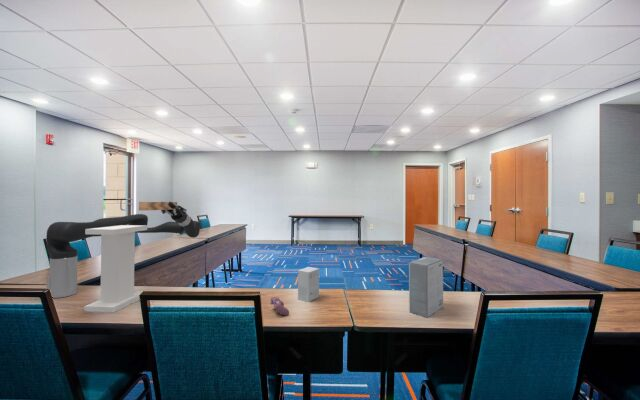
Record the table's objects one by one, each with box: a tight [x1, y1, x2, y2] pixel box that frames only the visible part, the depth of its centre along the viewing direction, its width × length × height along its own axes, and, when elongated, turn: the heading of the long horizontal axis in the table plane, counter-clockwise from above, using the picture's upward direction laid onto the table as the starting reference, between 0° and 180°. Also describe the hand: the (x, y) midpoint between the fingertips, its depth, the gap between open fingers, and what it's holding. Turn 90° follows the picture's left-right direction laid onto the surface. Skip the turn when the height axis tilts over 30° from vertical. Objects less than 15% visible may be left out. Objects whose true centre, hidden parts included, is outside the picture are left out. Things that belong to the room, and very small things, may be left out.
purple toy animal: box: [269, 296, 290, 316], centre depth 106 cm, size 10×5×7 cm, turn 22°
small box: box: [297, 266, 320, 303], centre depth 121 cm, size 8×6×13 cm
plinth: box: [83, 224, 148, 313], centre depth 113 cm, size 18×12×32 cm, turn 176°
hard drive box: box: [408, 256, 444, 318], centre depth 109 cm, size 16×8×20 cm, turn 134°
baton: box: [138, 201, 178, 212], centre depth 140 cm, size 24×4×4 cm, turn 176°
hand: (165, 203), depth 144 cm, fingers closed on baton, 4 cm apart
